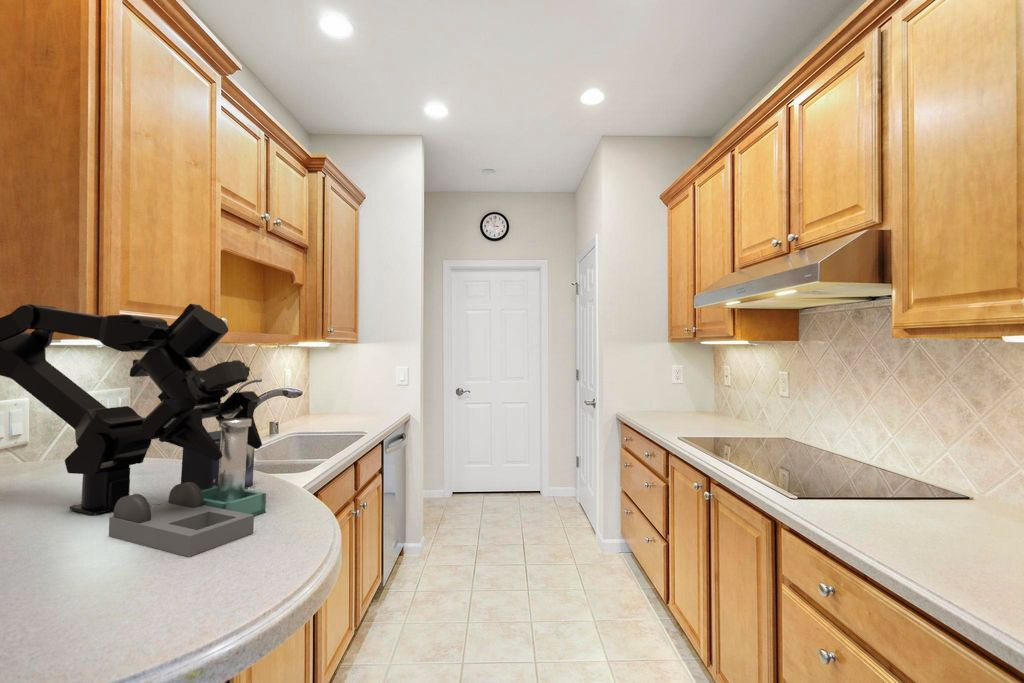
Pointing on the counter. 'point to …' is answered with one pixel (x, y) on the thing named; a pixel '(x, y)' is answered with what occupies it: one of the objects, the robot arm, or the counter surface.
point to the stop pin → (232, 458)
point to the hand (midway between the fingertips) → (240, 452)
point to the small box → (210, 466)
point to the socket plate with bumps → (178, 522)
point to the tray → (237, 501)
